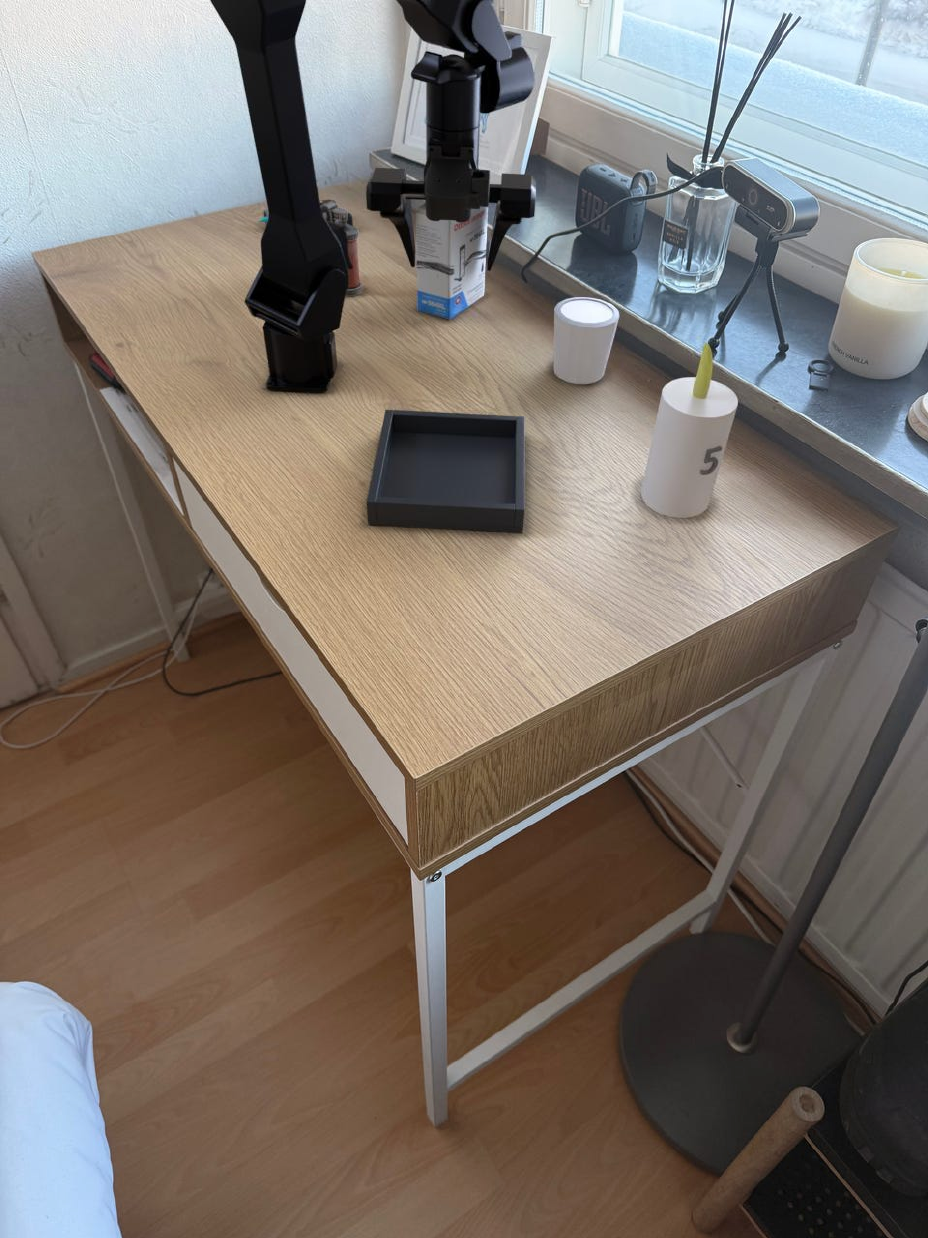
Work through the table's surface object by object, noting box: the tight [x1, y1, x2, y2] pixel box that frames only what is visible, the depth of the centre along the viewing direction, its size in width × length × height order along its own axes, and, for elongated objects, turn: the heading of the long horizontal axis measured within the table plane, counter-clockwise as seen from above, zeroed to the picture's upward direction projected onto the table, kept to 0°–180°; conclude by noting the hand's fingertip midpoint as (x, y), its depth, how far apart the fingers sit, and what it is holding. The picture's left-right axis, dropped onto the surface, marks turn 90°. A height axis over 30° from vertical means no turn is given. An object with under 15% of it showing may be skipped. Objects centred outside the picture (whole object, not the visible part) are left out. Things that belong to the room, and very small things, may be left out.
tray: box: [366, 409, 525, 534], centre depth 80 cm, size 14×15×3 cm
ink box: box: [414, 203, 489, 320], centre depth 102 cm, size 9×5×12 cm, turn 148°
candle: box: [640, 342, 739, 519], centre depth 75 cm, size 6×6×15 cm
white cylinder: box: [552, 296, 620, 385], centre depth 93 cm, size 7×7×7 cm
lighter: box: [319, 200, 362, 297], centre depth 105 cm, size 8×3×10 cm, turn 58°
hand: (450, 267), depth 103 cm, fingers open, 9 cm apart
